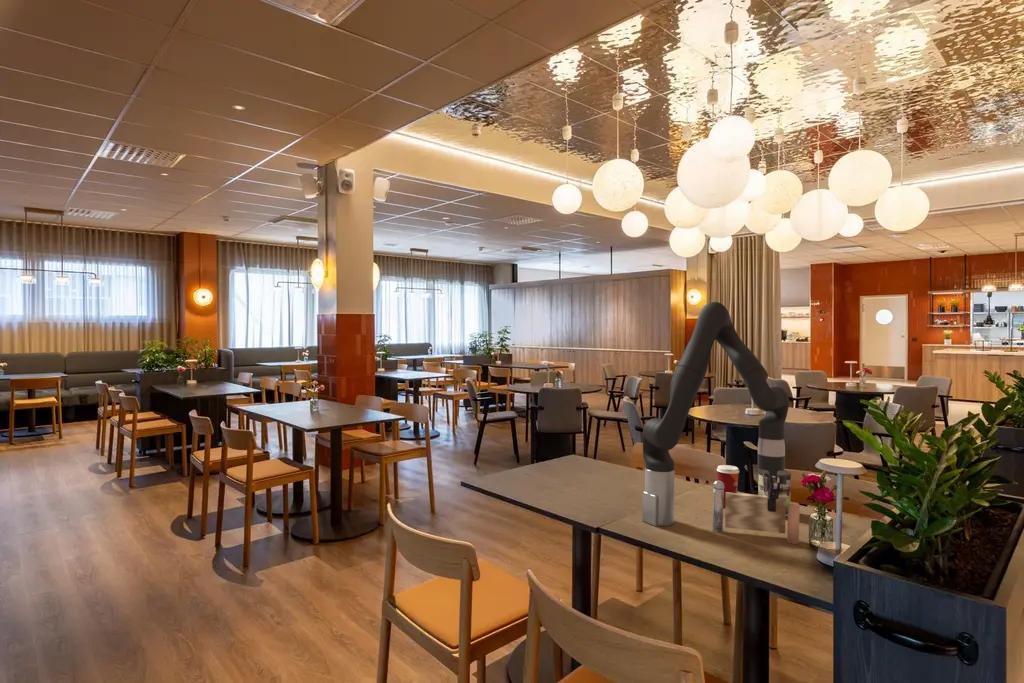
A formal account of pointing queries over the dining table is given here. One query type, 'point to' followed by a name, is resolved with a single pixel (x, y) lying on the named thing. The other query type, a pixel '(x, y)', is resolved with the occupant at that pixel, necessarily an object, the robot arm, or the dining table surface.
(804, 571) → the dining table surface
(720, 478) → the paper cup
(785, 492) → the coffee can
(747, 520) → the light wood flat panel
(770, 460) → the robot arm
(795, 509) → the post
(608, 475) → the dining table surface
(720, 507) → the hinge post
